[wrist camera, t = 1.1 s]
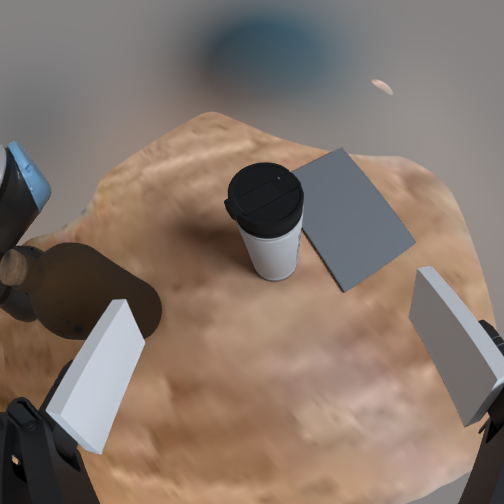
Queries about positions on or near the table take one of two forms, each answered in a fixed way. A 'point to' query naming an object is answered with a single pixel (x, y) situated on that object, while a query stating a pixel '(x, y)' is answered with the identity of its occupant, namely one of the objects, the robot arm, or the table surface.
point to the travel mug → (268, 217)
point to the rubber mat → (349, 219)
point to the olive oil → (78, 289)
